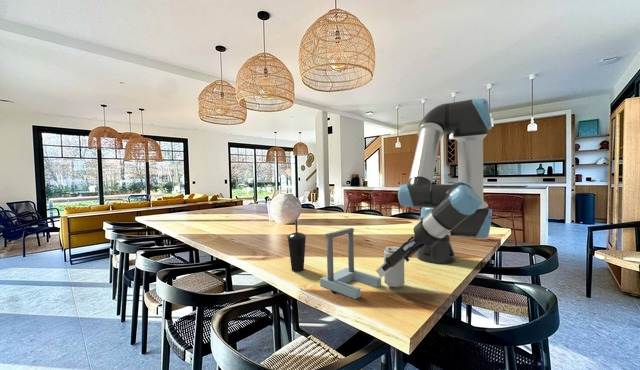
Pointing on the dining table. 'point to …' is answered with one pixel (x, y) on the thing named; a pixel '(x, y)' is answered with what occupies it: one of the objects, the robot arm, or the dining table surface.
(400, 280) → the beverage can
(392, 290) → the dining table surface
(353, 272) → the grey arch frame
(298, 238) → the drinking cup
